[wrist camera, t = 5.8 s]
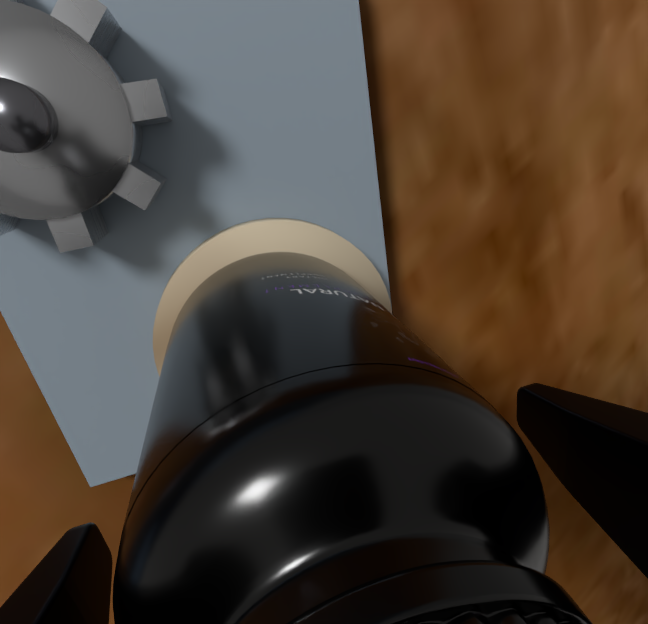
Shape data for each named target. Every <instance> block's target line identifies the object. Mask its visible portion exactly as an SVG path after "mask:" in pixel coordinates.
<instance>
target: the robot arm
mask: <svg viewBox="0 0 648 624" xmlns="http://www.w3.org/2000/svg"><path fill="white" fill-rule="evenodd" d="M517 422H518V425H519V427H520V428H521V430H522V431H523V432H524V434H525V435H526V436H527V438H528V439H529V440H530V442H531V443H532V444H533V446H534V447H535V448H536V450H537V451H538V453H539V454H540V455H541V457H542V458H543V459H544V461H545V462H546V463H547V465H548V466H549V467H550V469H551V470H552V471H553V473H554V474H555V475H556V477H557V478H558V479H559V480H560V482H561V483H562V484H563V485H564V486H565V488H566V489H567V490H568V491H569V492H570V493H571V495H572V496H573V497H574V498H575V499H576V500H577V501H578V502H579V503H580V505H581V506H582V507H583V508H584V509H585V510H586V511H587V512H588V513H589V514H590V516H591V517H592V518H593V519H594V520H595V521H596V522H597V523H598V524H599V525H600V527H601V528H602V529H603V530H604V531H605V532H606V533H607V534H608V535H609V537H610V538H611V539H612V540H613V541H614V542H615V543H616V544H617V545H618V546H619V548H620V549H621V550H622V551H623V552H624V553H625V554H626V555H627V556H628V557H629V559H630V560H631V561H632V562H633V563H634V564H635V565H636V566H637V567H638V568H639V570H640V571H641V572H642V573H643V574H644V575H645V576H646V577H647V578H648V413H646V412H643V411H639V410H635V409H631V408H628V407H624V406H620V405H617V404H613V403H609V402H606V401H602V400H598V399H594V398H591V397H587V396H583V395H580V394H576V393H572V392H569V391H565V390H561V389H557V388H554V387H550V386H546V385H543V384H539V383H533V384H530V385H527V386H523V387H521V388H519V390H518V392H517ZM111 579H112V555H111V552H110V550H109V548H108V546H107V544H106V542H105V540H104V538H103V536H102V534H101V532H100V530H99V529H98V527H97V526H96V524H94V523H87V524H83V525H80V526H77V527H74V528H72V529H70V530H68V531H67V532H66V533H65V534H64V535H63V536H62V538H61V539H60V540H59V541H58V542H57V543H56V544H55V546H54V547H53V548H52V549H51V550H50V551H49V552H48V554H47V555H46V556H45V557H44V558H43V559H42V560H41V562H40V563H39V564H38V565H37V566H36V567H35V568H34V570H33V571H32V572H31V573H30V574H29V575H28V576H27V578H26V579H25V580H24V581H23V582H22V583H21V584H20V586H19V587H18V588H17V589H16V590H15V591H14V592H13V594H12V595H11V596H10V597H9V598H8V599H7V600H6V602H5V603H4V604H3V605H2V606H1V607H0V624H109V610H110V595H111Z"/></svg>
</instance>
